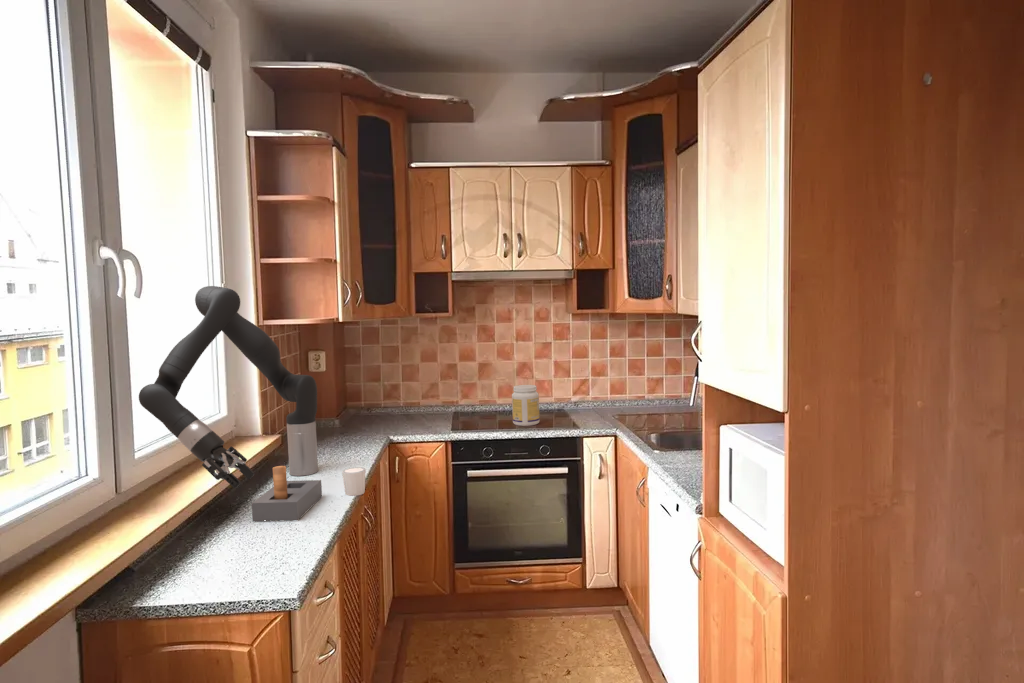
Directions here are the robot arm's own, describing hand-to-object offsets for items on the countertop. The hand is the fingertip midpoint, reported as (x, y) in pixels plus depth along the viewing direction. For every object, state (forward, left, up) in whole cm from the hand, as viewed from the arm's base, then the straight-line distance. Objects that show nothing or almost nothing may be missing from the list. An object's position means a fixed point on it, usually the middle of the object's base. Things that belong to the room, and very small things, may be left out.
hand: (245, 480), depth 172 cm
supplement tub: (-115, +76, -10) cm, 138 cm away
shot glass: (-18, +25, -10) cm, 32 cm away
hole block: (-5, +10, -10) cm, 14 cm away
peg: (0, +9, -9) cm, 13 cm away
